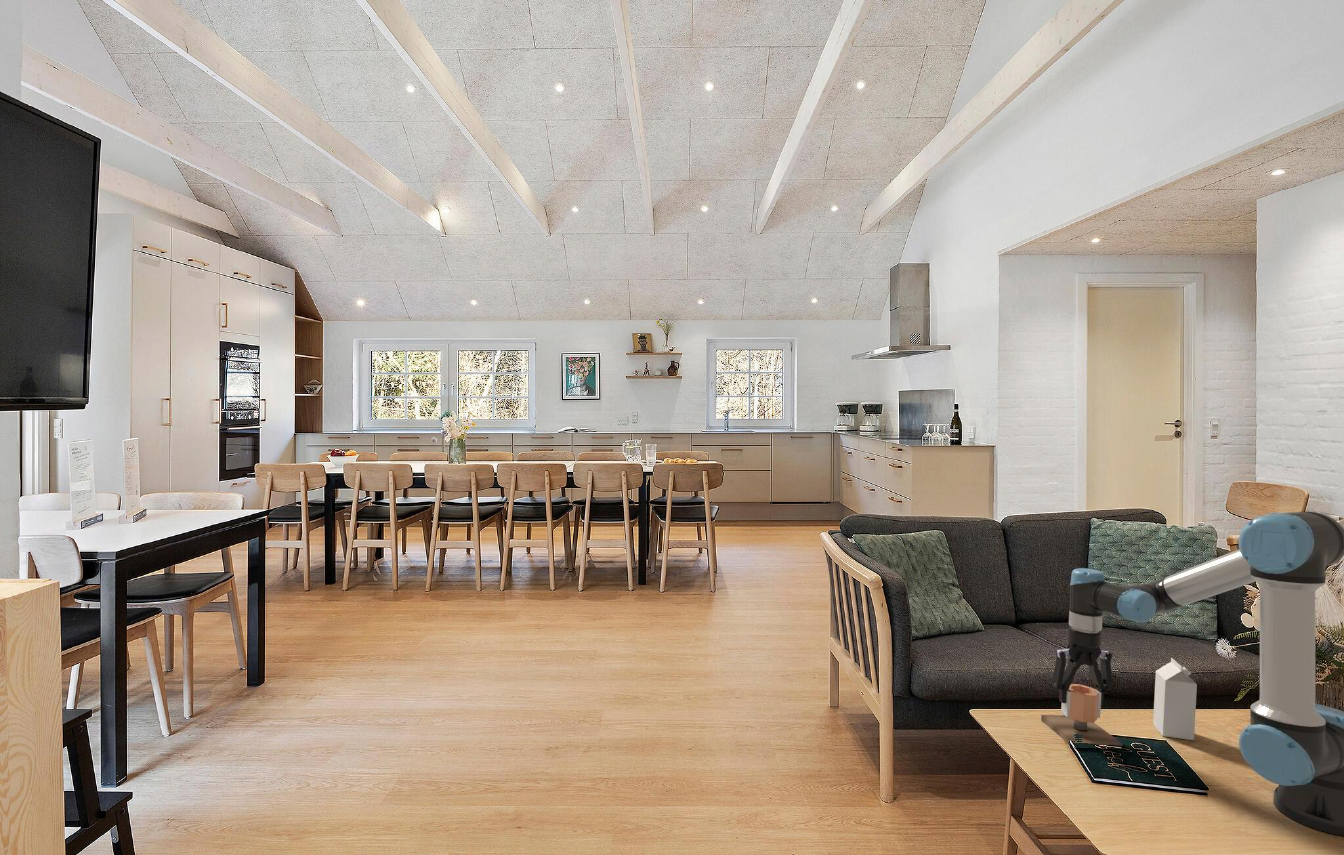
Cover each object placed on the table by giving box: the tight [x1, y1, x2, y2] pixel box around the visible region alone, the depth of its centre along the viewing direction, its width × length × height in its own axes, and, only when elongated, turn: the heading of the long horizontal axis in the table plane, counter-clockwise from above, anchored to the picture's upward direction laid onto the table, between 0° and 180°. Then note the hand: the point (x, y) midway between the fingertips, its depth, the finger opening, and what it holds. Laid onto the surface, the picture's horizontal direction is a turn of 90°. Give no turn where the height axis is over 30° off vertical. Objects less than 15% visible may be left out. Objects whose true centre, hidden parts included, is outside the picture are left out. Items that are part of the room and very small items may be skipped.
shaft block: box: [1040, 714, 1124, 747], centre depth 186 cm, size 16×12×9 cm
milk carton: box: [1152, 657, 1198, 741], centre depth 188 cm, size 7×7×19 cm
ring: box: [1068, 683, 1099, 723], centre depth 186 cm, size 7×7×7 cm
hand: (1080, 714), depth 186 cm, fingers closed on ring, 7 cm apart
